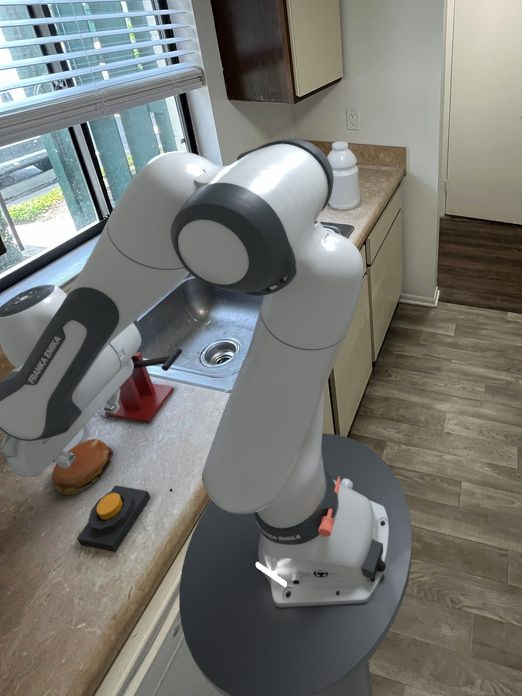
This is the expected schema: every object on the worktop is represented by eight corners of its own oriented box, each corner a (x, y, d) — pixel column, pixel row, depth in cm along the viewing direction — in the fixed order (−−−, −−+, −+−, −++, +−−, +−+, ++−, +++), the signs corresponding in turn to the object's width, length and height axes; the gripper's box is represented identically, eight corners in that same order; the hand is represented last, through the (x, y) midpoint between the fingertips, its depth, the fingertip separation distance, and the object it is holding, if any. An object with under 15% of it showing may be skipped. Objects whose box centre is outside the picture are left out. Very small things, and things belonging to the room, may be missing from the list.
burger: (45, 498, 84) (36, 484, 82) (74, 451, 92) (67, 437, 90) (99, 493, 84) (91, 479, 82) (123, 447, 93) (116, 433, 91)
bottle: (330, 212, 186) (323, 150, 173) (327, 198, 198) (321, 139, 186) (362, 208, 188) (358, 147, 176) (358, 194, 201) (354, 136, 188)
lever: (184, 354, 96) (179, 346, 95) (170, 372, 92) (164, 364, 91) (132, 362, 100) (126, 354, 100) (116, 379, 96) (110, 371, 95)
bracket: (174, 389, 106) (159, 347, 100) (149, 423, 98) (131, 379, 92) (133, 384, 107) (117, 342, 101) (105, 416, 99) (85, 373, 93)
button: (127, 500, 80) (124, 494, 79) (112, 521, 77) (109, 516, 76) (109, 496, 80) (107, 491, 80) (94, 518, 77) (91, 512, 76)
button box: (150, 497, 84) (145, 485, 82) (115, 552, 76) (108, 540, 74) (118, 491, 85) (112, 479, 83) (80, 545, 77) (72, 532, 75)
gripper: (16, 444, 58) (53, 505, 64) (128, 333, 76) (149, 389, 82) (-23, 437, 59) (17, 497, 65) (97, 329, 77) (120, 384, 83)
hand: (92, 436), depth 74 cm, fingers open, 8 cm apart
